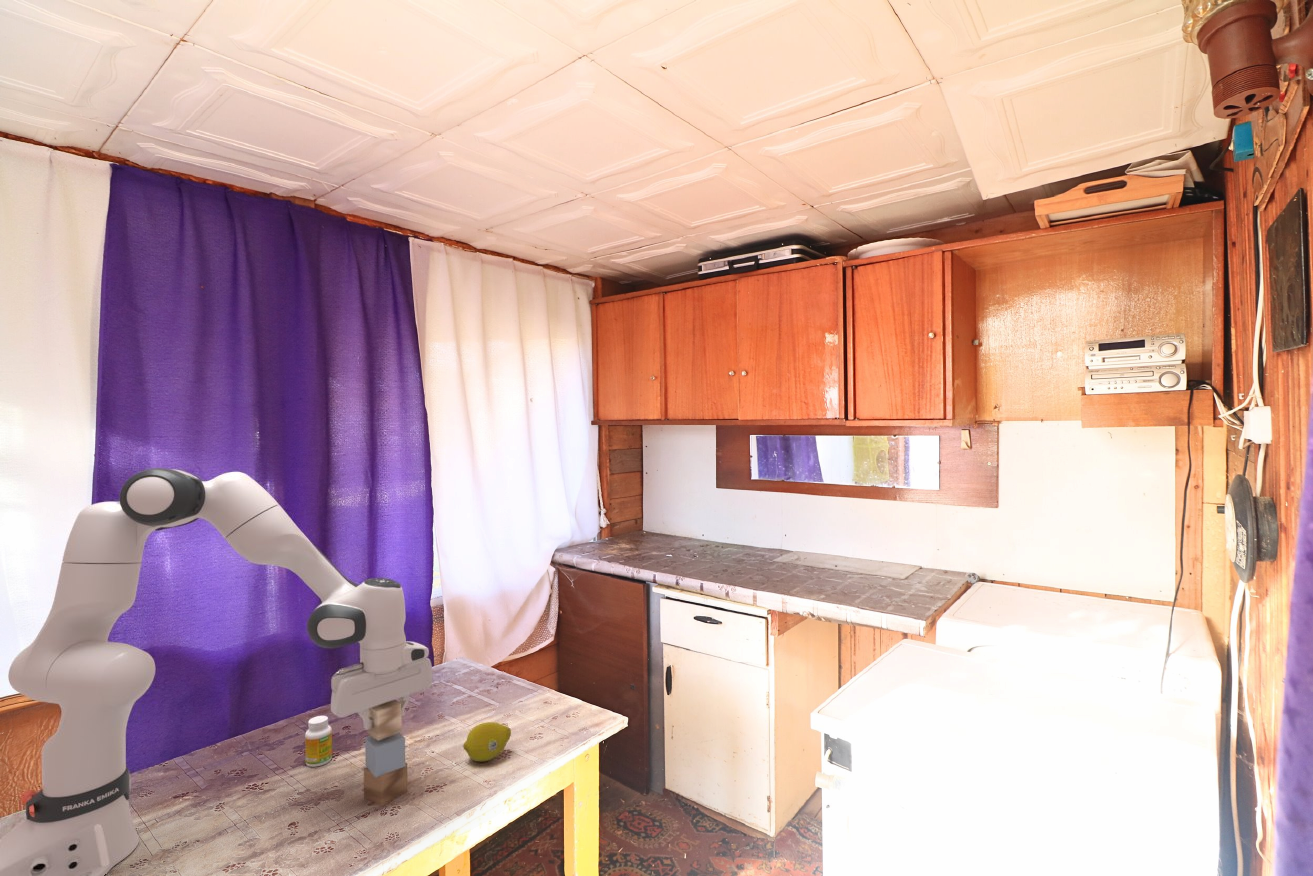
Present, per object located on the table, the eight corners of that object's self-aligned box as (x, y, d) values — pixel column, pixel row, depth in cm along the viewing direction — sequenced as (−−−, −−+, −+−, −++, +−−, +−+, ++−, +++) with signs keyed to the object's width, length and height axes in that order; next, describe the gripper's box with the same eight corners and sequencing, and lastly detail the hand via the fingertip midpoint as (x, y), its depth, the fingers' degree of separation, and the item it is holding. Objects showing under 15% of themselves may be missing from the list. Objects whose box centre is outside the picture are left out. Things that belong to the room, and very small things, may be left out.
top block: (375, 777, 125) (375, 748, 125) (365, 766, 130) (365, 737, 130) (405, 766, 129) (405, 737, 129) (394, 755, 134) (394, 728, 134)
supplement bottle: (320, 768, 140) (319, 726, 140) (300, 766, 141) (299, 724, 141) (337, 756, 145) (336, 715, 145) (317, 754, 146) (316, 713, 146)
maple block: (377, 740, 126) (377, 711, 126) (366, 732, 129) (366, 704, 129) (401, 731, 130) (401, 703, 130) (390, 724, 133) (390, 696, 133)
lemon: (464, 771, 138) (464, 736, 138) (462, 754, 145) (461, 721, 145) (513, 761, 142) (513, 727, 142) (509, 745, 149) (508, 712, 149)
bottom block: (382, 806, 126) (381, 777, 125) (364, 797, 129) (363, 769, 129) (407, 791, 131) (407, 763, 131) (389, 783, 134) (389, 755, 134)
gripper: (337, 675, 119) (338, 746, 120) (435, 646, 135) (436, 710, 135) (324, 667, 124) (325, 736, 124) (421, 640, 139) (422, 701, 139)
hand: (384, 722), depth 130 cm, fingers closed on maple block, 5 cm apart
